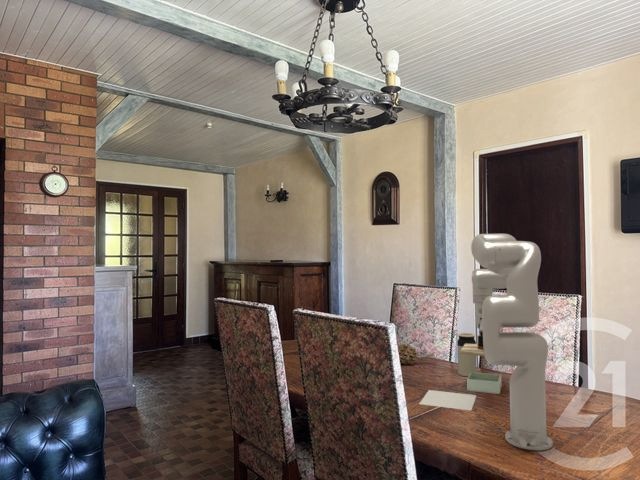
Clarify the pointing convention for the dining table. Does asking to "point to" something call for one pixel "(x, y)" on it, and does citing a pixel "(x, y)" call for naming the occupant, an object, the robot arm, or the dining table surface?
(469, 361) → the travel mug
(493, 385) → the dish
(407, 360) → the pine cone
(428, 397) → the mat
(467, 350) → the lid
